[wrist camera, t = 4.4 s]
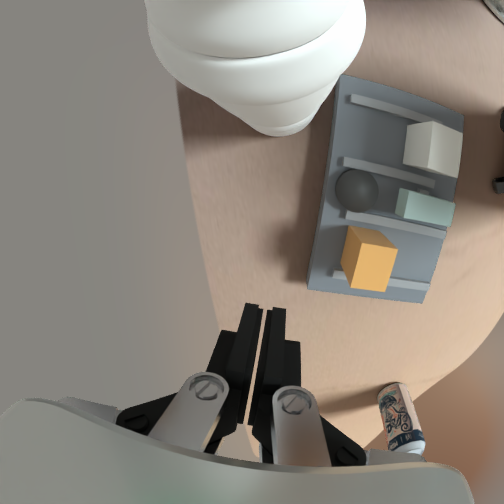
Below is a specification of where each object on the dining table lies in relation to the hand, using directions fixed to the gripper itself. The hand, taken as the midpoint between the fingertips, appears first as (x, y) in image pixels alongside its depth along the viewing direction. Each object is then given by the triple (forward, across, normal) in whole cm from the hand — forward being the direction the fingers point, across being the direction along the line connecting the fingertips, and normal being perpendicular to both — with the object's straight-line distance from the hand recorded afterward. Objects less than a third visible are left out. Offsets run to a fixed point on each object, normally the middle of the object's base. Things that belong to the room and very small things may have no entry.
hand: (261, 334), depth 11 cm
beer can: (+17, -21, +21) cm, 34 cm away
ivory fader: (+14, -12, -10) cm, 21 cm away
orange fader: (+14, -8, 0) cm, 16 cm away
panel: (+16, -10, -5) cm, 20 cm away
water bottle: (+17, +1, -12) cm, 21 cm away
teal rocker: (+12, -13, -5) cm, 18 cm away
